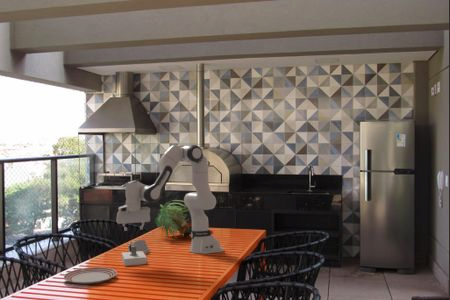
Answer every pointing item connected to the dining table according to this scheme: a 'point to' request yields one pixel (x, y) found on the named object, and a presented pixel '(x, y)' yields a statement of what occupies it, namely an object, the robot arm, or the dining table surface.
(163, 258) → the dining table surface
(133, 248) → the pin
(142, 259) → the grey block with hole
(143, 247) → the grey curved slotted block
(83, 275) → the dinner plate
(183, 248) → the dining table surface
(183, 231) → the plant
